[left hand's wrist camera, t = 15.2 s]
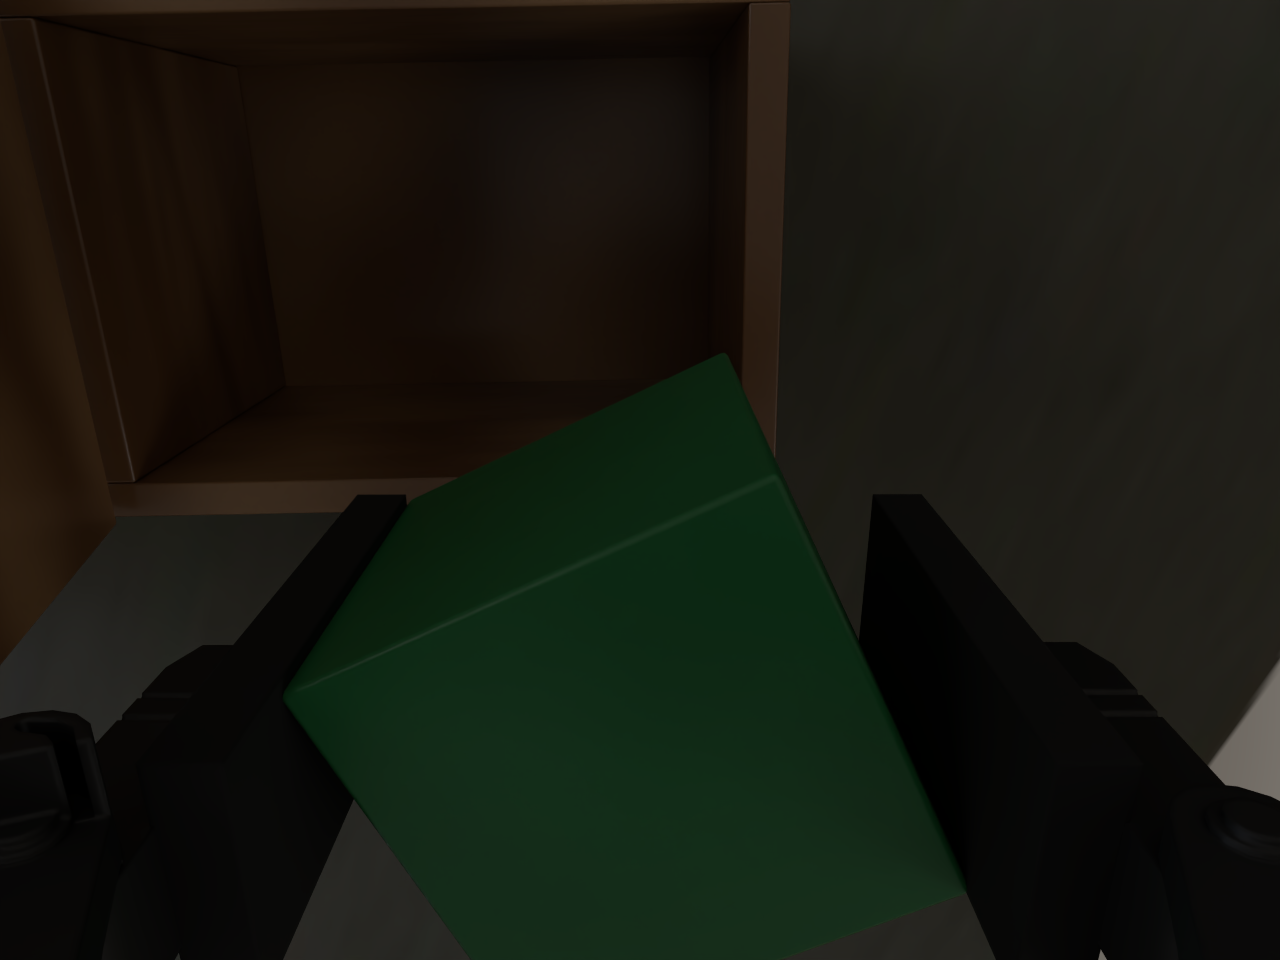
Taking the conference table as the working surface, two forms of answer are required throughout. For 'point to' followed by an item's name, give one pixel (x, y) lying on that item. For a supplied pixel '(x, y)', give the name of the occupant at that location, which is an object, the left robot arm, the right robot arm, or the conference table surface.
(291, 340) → the chest
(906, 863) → the block
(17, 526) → the lid
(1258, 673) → the conference table surface
